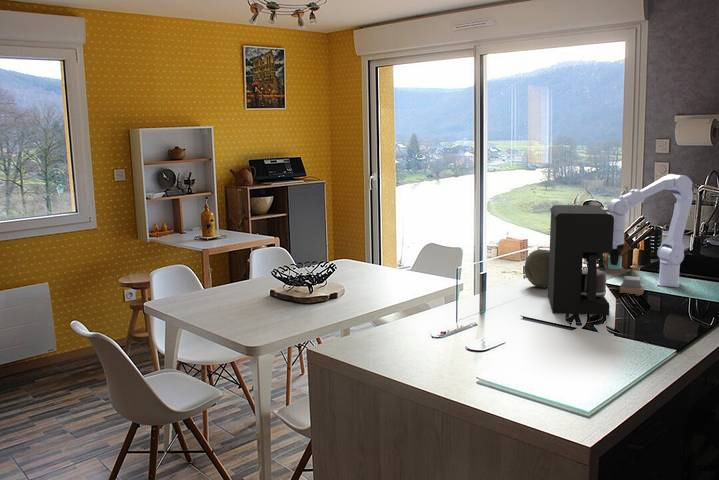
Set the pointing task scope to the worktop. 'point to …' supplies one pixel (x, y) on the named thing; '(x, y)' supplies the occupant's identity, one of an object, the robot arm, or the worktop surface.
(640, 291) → the walnut slab
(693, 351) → the worktop surface
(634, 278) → the grey square block
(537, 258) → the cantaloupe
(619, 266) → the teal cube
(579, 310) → the coffee maker
